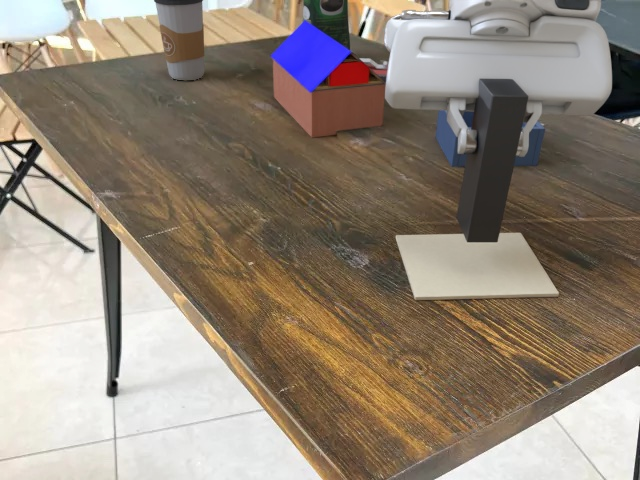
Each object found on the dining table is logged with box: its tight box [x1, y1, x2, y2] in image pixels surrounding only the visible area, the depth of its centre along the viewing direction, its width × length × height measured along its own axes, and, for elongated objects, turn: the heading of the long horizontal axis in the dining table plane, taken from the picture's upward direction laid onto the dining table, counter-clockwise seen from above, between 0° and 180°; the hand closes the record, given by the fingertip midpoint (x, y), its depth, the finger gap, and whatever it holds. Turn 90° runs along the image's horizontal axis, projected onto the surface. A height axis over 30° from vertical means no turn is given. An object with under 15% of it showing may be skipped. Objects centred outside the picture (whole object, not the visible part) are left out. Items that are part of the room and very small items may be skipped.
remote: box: [456, 79, 528, 242], centre depth 60 cm, size 3×5×14 cm, turn 2°
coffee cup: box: [153, 0, 205, 81], centre depth 114 cm, size 8×8×15 cm
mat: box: [395, 232, 560, 301], centre depth 67 cm, size 14×12×1 cm
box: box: [435, 110, 546, 168], centre depth 89 cm, size 12×11×6 cm
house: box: [270, 21, 386, 138], centre depth 100 cm, size 12×20×12 cm, turn 20°
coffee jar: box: [302, 0, 351, 51], centre depth 123 cm, size 10×8×19 cm
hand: (492, 153), depth 59 cm, fingers closed on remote, 3 cm apart
